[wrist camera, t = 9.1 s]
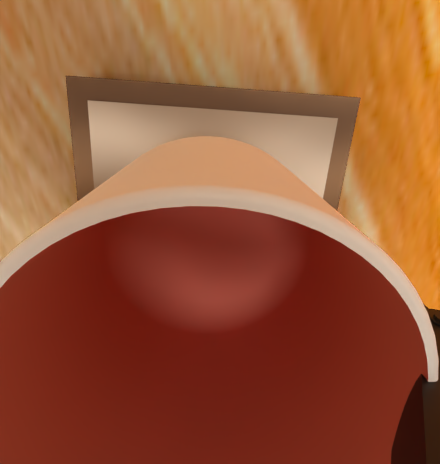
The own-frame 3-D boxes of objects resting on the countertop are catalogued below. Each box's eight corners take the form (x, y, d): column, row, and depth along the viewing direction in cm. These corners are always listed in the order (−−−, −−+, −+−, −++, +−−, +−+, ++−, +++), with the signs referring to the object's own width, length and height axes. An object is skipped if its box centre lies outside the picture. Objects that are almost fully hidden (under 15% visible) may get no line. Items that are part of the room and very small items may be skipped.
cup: (271, 335, 18) (332, 571, 9) (94, 300, 17) (-43, 528, 8) (338, 165, 15) (548, 265, 6) (121, 106, 14) (-65, 110, 4)
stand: (88, 80, 18) (63, 75, 15) (337, 98, 18) (362, 97, 15) (104, 297, 23) (88, 327, 20) (299, 306, 24) (312, 336, 20)
